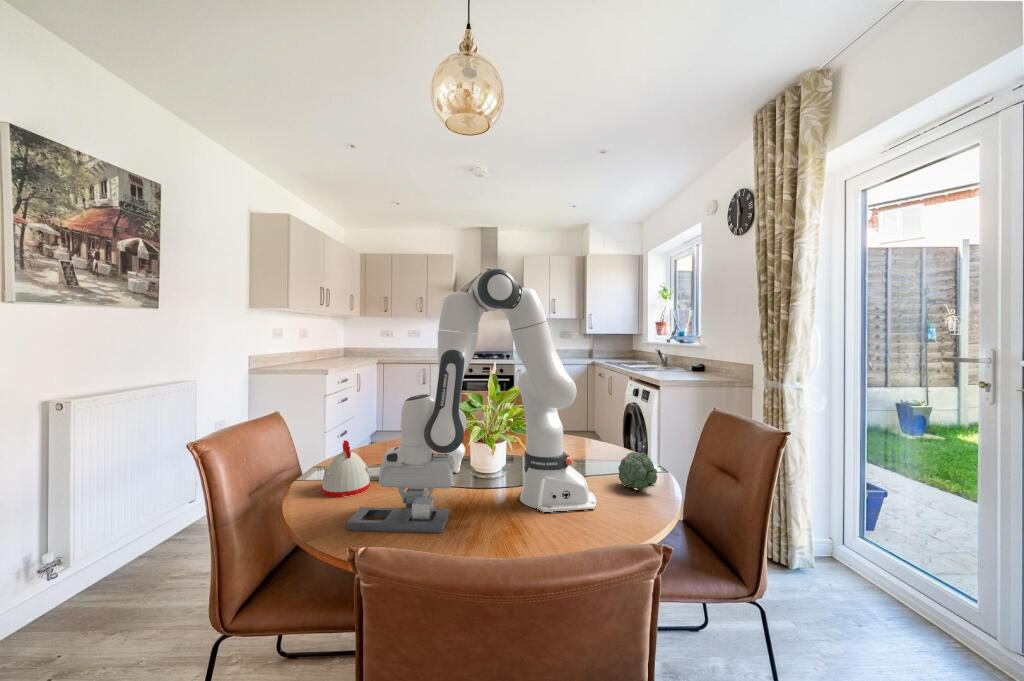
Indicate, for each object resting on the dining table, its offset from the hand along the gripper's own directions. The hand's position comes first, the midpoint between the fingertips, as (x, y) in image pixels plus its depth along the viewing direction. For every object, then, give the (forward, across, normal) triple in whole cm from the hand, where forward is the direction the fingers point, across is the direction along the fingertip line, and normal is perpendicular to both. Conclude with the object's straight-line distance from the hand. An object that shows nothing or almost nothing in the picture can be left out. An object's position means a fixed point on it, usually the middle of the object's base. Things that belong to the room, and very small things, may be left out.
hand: (416, 502), depth 112 cm
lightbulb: (+2, -6, -31) cm, 32 cm away
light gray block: (+2, -4, +8) cm, 10 cm away
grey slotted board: (+2, +2, +8) cm, 9 cm away
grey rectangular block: (+2, 0, 0) cm, 2 cm away
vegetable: (+2, -68, -21) cm, 71 cm away
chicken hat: (+2, +26, -14) cm, 30 cm away
